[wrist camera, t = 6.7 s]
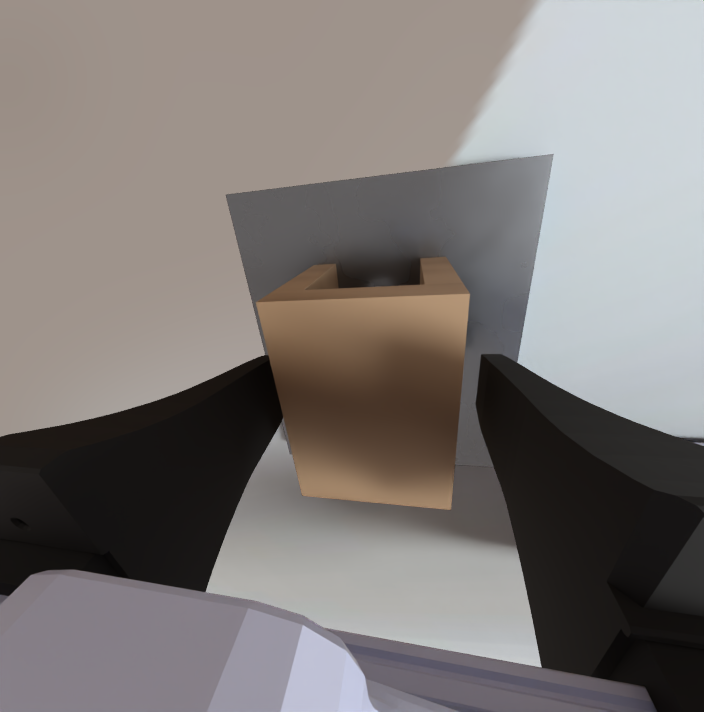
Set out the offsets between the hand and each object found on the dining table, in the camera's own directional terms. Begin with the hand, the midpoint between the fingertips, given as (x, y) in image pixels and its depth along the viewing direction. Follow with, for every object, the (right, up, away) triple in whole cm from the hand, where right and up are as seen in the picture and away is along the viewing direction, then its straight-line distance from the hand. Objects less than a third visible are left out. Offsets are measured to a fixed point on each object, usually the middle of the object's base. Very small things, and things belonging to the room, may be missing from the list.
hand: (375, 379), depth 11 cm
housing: (0, +1, +2) cm, 2 cm away
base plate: (+1, +2, +3) cm, 3 cm away
